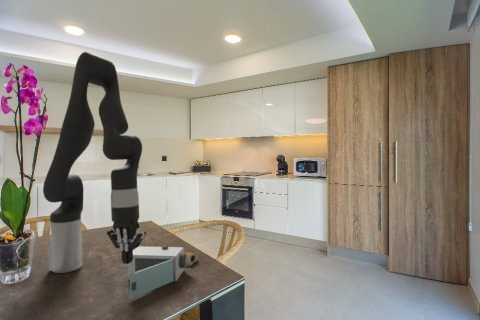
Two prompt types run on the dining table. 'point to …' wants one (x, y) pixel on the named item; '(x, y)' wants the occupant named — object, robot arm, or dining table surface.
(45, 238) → the dining table surface
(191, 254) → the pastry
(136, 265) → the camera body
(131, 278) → the door
